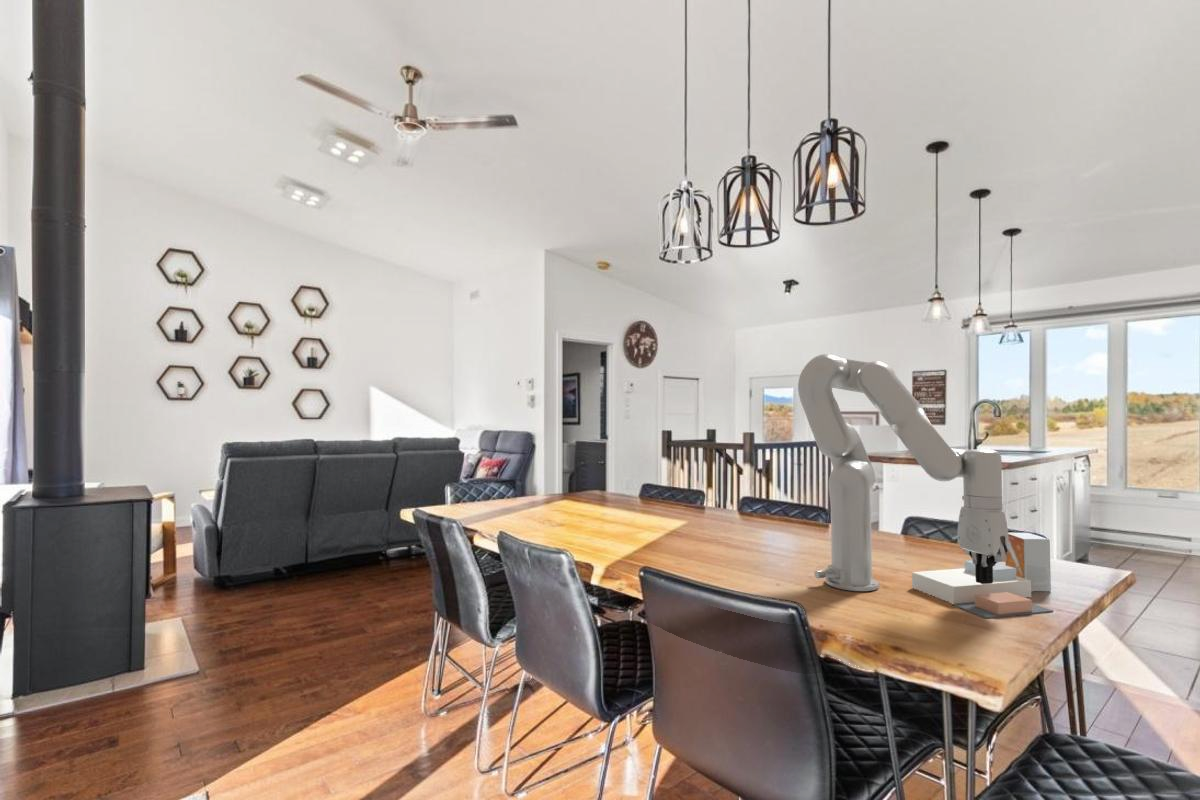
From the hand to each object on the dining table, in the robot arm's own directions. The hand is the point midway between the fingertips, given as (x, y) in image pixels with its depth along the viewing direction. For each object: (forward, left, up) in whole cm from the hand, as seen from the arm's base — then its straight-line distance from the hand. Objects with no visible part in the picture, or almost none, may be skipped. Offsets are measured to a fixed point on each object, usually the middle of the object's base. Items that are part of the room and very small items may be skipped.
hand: (984, 582), depth 136 cm
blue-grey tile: (+10, +8, -1) cm, 13 cm away
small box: (+22, +9, -5) cm, 24 cm away
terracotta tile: (0, -4, -2) cm, 5 cm away
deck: (+4, +8, -5) cm, 10 cm away
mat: (+1, -3, -5) cm, 6 cm away
